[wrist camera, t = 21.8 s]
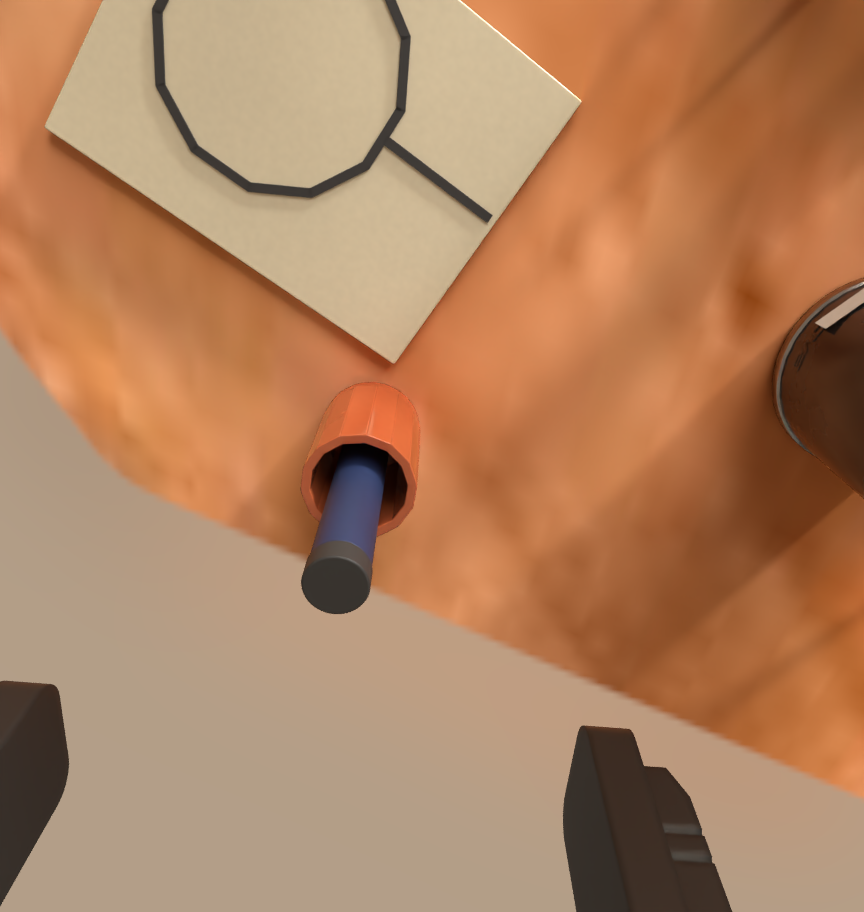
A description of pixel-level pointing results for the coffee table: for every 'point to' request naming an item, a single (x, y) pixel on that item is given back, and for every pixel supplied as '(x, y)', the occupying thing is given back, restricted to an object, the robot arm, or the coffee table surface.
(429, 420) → the coffee table surface
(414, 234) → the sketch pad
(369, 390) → the pen cup
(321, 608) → the marker
